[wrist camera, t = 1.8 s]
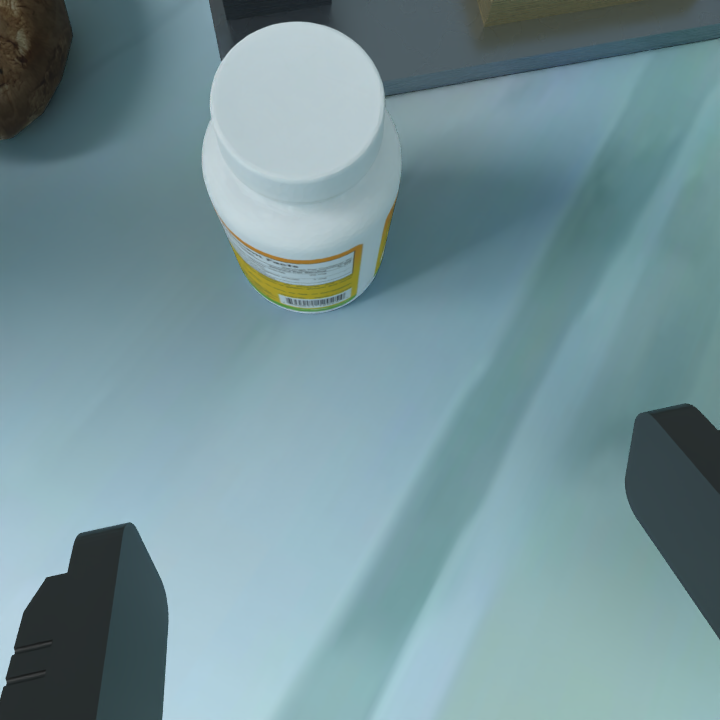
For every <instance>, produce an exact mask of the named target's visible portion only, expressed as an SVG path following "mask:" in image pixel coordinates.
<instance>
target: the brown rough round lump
mask: <svg viewBox="0 0 720 720" xmlns="http://www.w3.org/2000/svg"><path fill="white" fill-rule="evenodd" d="M72 37H73V34H72V29H71V25H70V21H69V17H68V14H67V10H66V6H65V2H64V0H0V140H4V139H9V138H13V137H14V136H15V135H17V134H18V133H19V132H20V131H22V130H23V129H24V128H25V127H26V126H28V125H29V124H30V123H31V122H33V121H34V120H35V119H36V118H38V117H39V116H40V115H41V114H42V113H43V112H44V110H45V108H46V107H47V105H48V103H49V101H50V99H51V98H52V96H53V94H54V92H55V90H56V88H57V87H58V85H59V83H60V81H61V79H62V76H63V72H64V69H65V65H66V61H67V57H68V53H69V49H70V45H71V41H72Z"/></svg>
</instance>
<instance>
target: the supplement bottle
mask: <svg viewBox="0 0 720 720" xmlns="http://www.w3.org/2000/svg"><path fill="white" fill-rule="evenodd" d="M210 112H211V120H210V122H209V124H208V127H207V130H206V133H205V137H204V141H203V146H202V170H203V177H204V181H205V185H206V188H207V191H208V194H209V197H210V199H211V202H212V204H213V207H214V209H215V211H216V213H217V215H218V217H219V220H220V222H221V224H222V226H223V228H224V231H225V233H226V235H227V237H228V240H229V242H230V244H231V247H232V249H233V251H234V253H235V256H236V258H237V260H238V262H239V265H240V267H241V269H242V271H243V273H244V274H245V276H246V278H247V279H248V281H249V282H250V284H251V285H252V286H253V287H254V289H255V290H256V291H257V292H258V293H259V294H260V295H261V296H263V297H264V298H265V299H266V300H268V301H269V302H271V303H273V304H274V305H276V306H279V307H281V308H284V309H286V310H290V311H293V312H298V313H309V314H313V313H323V312H328V311H332V310H335V309H338V308H340V307H343V306H345V305H347V304H348V303H350V302H352V301H353V300H355V299H356V298H357V297H358V296H359V295H361V294H362V293H363V292H364V291H365V290H366V289H367V287H368V286H369V285H370V284H371V282H372V281H373V279H374V277H375V276H376V274H377V271H378V269H379V267H380V264H381V261H382V258H383V254H384V250H385V244H386V240H387V236H388V231H389V227H390V223H391V219H392V215H393V211H394V207H395V203H396V199H397V195H398V190H399V185H400V178H401V169H402V154H401V146H400V140H399V136H398V133H397V130H396V127H395V124H394V122H393V120H392V119H391V117H390V115H389V113H388V112H387V110H386V108H385V93H384V87H383V83H382V80H381V78H380V75H379V72H378V70H377V68H376V66H375V65H374V63H373V61H372V60H371V58H370V57H369V56H368V54H367V53H366V52H365V51H364V50H363V49H362V48H361V46H360V45H358V44H357V43H356V42H355V41H353V40H352V39H351V38H349V37H348V36H346V35H345V34H343V33H341V32H339V31H337V30H335V29H333V28H330V27H327V26H324V25H320V24H315V23H310V22H285V23H278V24H274V25H270V26H267V27H264V28H262V29H260V30H257V31H255V32H253V33H251V34H249V35H248V36H246V37H245V38H244V39H242V40H241V41H240V42H238V43H237V44H236V45H235V46H234V47H233V48H232V49H231V50H230V51H229V52H228V54H227V55H226V56H225V58H224V59H223V60H222V62H221V64H220V65H219V67H218V69H217V72H216V74H215V76H214V79H213V83H212V87H211V93H210Z"/></svg>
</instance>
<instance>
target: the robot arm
mask: <svg viewBox="0 0 720 720" xmlns="http://www.w3.org/2000/svg"><path fill="white" fill-rule="evenodd" d="M625 489H626V494H627V498H628V501H629V504H630V507H631V509H632V511H633V513H634V515H635V516H636V518H637V520H638V521H639V523H640V524H641V525H642V527H643V528H644V530H645V531H646V533H647V534H648V536H649V537H650V539H651V540H652V541H653V543H654V544H655V546H656V547H657V549H658V550H659V552H660V553H661V555H662V556H663V558H664V559H665V560H666V562H667V563H668V565H669V566H670V568H671V569H672V571H673V572H674V574H675V575H676V576H677V578H678V579H679V581H680V582H681V584H682V585H683V587H684V588H685V590H686V591H687V593H688V594H689V595H690V597H691V598H692V600H693V601H694V603H695V604H696V606H697V607H698V609H699V610H700V611H701V613H702V614H703V616H704V617H705V619H706V620H707V622H708V623H709V625H710V626H711V627H712V629H713V630H714V632H715V633H716V635H717V636H718V638H719V639H720V430H717V429H716V428H715V427H714V426H713V425H712V424H711V423H710V422H709V421H708V419H707V418H706V417H705V416H704V415H703V414H702V413H701V412H700V411H699V410H698V409H697V408H696V407H694V406H693V405H690V404H686V403H685V404H680V405H676V406H671V407H666V408H662V409H657V410H653V411H648V412H643V413H640V414H639V415H638V416H637V417H636V419H635V423H634V429H633V435H632V441H631V446H630V452H629V458H628V464H627V470H626V476H625ZM167 636H168V605H167V598H166V593H165V589H164V586H163V583H162V581H161V578H160V576H159V574H158V572H157V570H156V568H155V566H154V564H153V562H152V560H151V558H150V556H149V553H148V551H147V549H146V547H145V545H144V543H143V541H142V539H141V537H140V535H139V533H138V531H137V529H136V527H135V526H134V524H132V523H130V522H129V523H125V524H120V525H115V526H111V527H106V528H102V529H97V530H92V531H88V532H83V533H80V534H78V536H77V537H76V539H75V541H74V545H73V549H72V554H71V559H70V563H69V568H68V572H67V573H64V574H60V575H55V576H51V577H47V578H46V579H45V581H44V582H43V584H42V585H41V587H40V588H39V590H38V591H37V593H36V594H35V596H34V597H33V599H32V600H31V602H30V603H29V605H28V606H27V608H26V609H25V611H24V612H23V616H22V620H21V624H20V627H19V631H18V635H17V639H16V642H15V646H14V650H15V654H14V655H12V657H11V661H10V665H9V668H8V672H7V676H6V681H7V684H6V686H4V687H3V691H2V694H1V698H0V720H162V714H163V699H164V683H165V667H166V652H167Z"/></svg>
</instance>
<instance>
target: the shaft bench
mask: <svg viewBox="0 0 720 720" xmlns="http://www.w3.org/2000/svg"><path fill="white" fill-rule="evenodd" d="M209 3H210V8H211V13H212V18H213V23H214V28H215V33H216V38H217V43H218V48H219V53H220V58H221V62H222V60H223V59H224V58H225V56H226V55H227V54H228V52H229V51H230V50H231V49H232V48H233V47H234V46H235V45H236V44H237V43H238V42H240V41H241V40H242V39H244V38H245V37H246V36H248V35H249V34H251V33H253V32H255V31H257V30H260V29H262V28H264V27H267V26H270V25H274V24H278V23H285V22H310V23H315V24H320V25H324V26H327V27H330V28H333V29H335V30H337V31H339V32H341V33H343V34H345V35H346V36H348V37H349V38H351V39H352V40H353V41H355V42H356V43H357V44H358V45H360V46H361V48H362V49H363V50H364V51H365V52H366V53H367V54H368V56H369V57H370V58H371V60H372V61H373V63H374V65H375V66H376V68H377V70H378V72H379V75H380V78H381V80H382V83H383V87H384V93H385V96H388V95H394V94H400V93H406V92H411V91H417V90H423V89H429V88H434V87H440V86H446V85H451V84H457V83H463V82H469V81H474V80H480V79H486V78H491V77H497V76H503V75H509V74H514V73H520V72H526V71H532V70H537V69H543V68H549V67H554V66H560V65H566V64H572V63H577V62H583V61H589V60H595V59H600V58H606V57H612V56H617V55H623V54H629V53H635V52H640V51H646V50H652V49H657V48H663V47H669V46H675V45H680V44H686V43H692V42H698V41H703V40H709V39H715V38H720V0H209Z"/></svg>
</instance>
